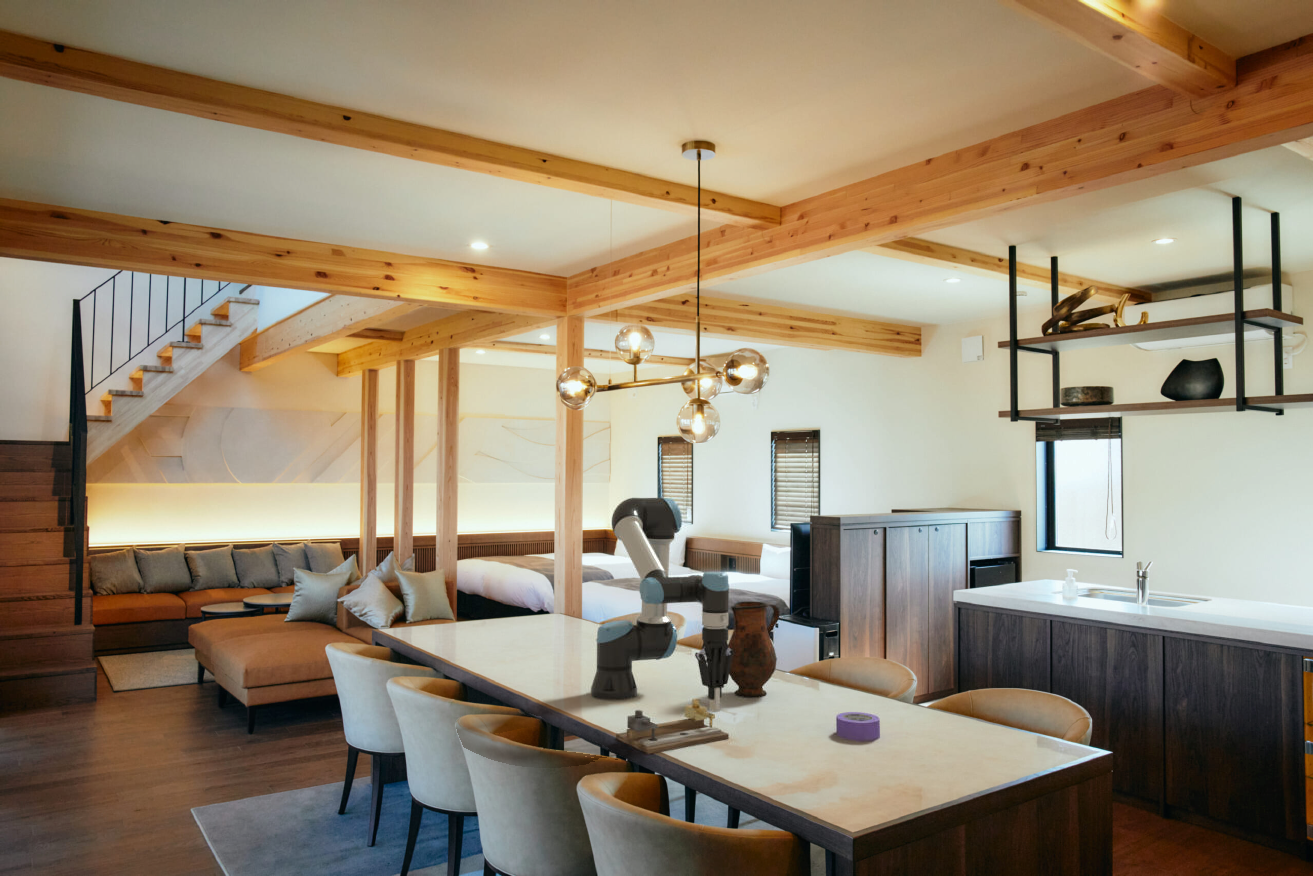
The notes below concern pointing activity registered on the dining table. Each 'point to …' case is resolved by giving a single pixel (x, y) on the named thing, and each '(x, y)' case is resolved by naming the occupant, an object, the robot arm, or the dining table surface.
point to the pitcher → (752, 648)
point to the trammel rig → (667, 734)
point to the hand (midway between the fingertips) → (714, 710)
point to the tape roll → (858, 726)
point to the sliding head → (698, 712)
